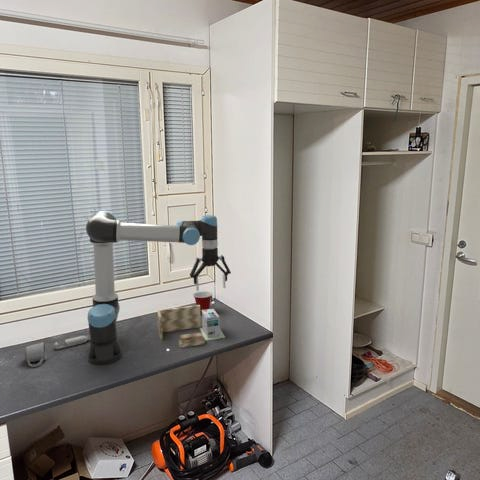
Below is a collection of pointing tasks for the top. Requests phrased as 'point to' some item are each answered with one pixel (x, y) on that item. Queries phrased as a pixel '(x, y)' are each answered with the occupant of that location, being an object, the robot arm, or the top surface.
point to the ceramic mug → (35, 354)
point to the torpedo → (72, 342)
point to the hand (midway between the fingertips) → (210, 288)
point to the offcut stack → (191, 340)
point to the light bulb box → (210, 323)
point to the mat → (212, 337)
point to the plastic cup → (203, 300)
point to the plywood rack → (178, 319)
